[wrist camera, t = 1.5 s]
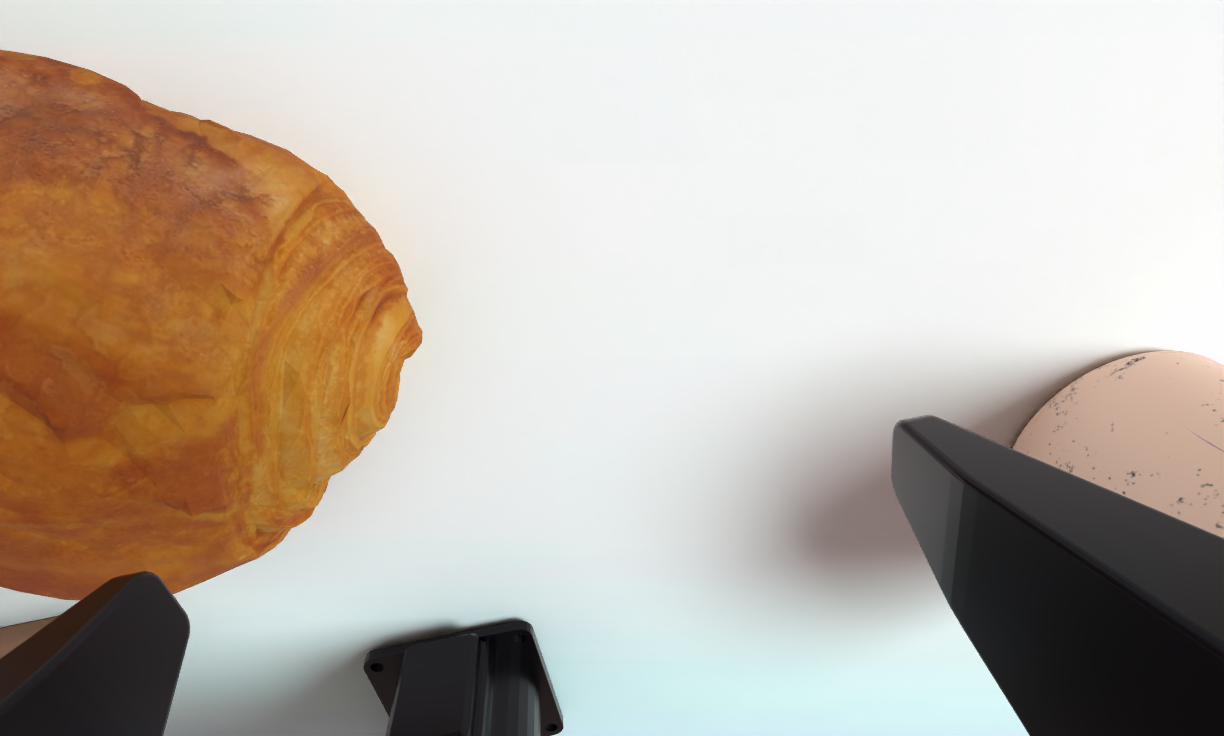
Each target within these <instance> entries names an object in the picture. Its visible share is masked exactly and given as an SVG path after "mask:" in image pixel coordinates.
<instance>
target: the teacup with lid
mask: <svg viewBox="0 0 1224 736" xmlns="http://www.w3.org/2000/svg"><path fill="white" fill-rule="evenodd" d="M1012 449H1014V450H1016V451H1019V452H1021V453H1024V454H1026V455H1028V456H1031V457H1033V458H1035V459H1038V460H1040V461H1042V462H1045V463H1047V464H1050V465H1052V466H1054V467H1057V468H1059V469H1061V470H1064V471H1066V472H1069V473H1071V474H1073V475H1076V476H1078V477H1080V478H1083V479H1085V480H1088V481H1090V482H1092V483H1095V484H1097V485H1099V486H1102V487H1104V488H1106V489H1109V490H1111V491H1114V492H1116V493H1118V494H1121V495H1123V496H1125V497H1128V498H1130V499H1133V500H1135V501H1137V502H1140V503H1142V504H1144V505H1147V506H1149V507H1151V508H1154V509H1156V510H1159V511H1161V512H1163V513H1166V514H1168V515H1170V516H1173V517H1175V518H1178V519H1180V520H1182V521H1185V522H1187V523H1189V524H1192V525H1194V526H1197V527H1199V528H1201V529H1204V530H1206V531H1208V532H1211V533H1213V534H1215V535H1218V536H1220V537H1223V538H1224V365H1222V364H1220V363H1218V362H1216V361H1214V360H1211V359H1209V358H1206V357H1204V356H1201V355H1197V354H1193V353H1188V352H1181V351H1154V352H1147V353H1141V354H1137V355H1132V356H1128V357H1125V358H1122V359H1118V360H1115V361H1113V362H1110V363H1108V364H1105V365H1103V366H1101V367H1099V368H1096V369H1094V370H1092V371H1090V372H1089V373H1087V374H1085V375H1083V376H1081V377H1080V378H1078V379H1077V380H1075V381H1074V382H1072V383H1070V384H1069V385H1068V386H1066V387H1065V388H1064V389H1062V390H1061V391H1060V392H1058V393H1057V394H1056V395H1055V396H1054V397H1052V398H1051V399H1050V400H1049V401H1048V402H1047V403H1046V404H1045V405H1044V406H1043V407H1042V408H1041V409H1040V410H1039V411H1038V412H1037V413H1036V414H1035V415H1034V416H1033V418H1032V419H1031V420H1030V421H1029V423H1028V424H1027V425H1026V426H1025V428H1024V429H1023V431H1022V432H1021V434H1020V435H1019V437H1018V439H1017V441H1016V442H1015V444H1014V446H1013V448H1012Z"/></svg>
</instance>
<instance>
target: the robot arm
mask: <svg viewBox="0 0 1224 736" xmlns="http://www.w3.org/2000/svg"><path fill="white" fill-rule="evenodd" d="M891 478H892V484H893V488H894V491H895V494H896V496H897V498H898V500H899V502H900V504H901V507H902V509H903V511H904V513H905V515H906V517H907V519H908V521H909V523H910V525H911V527H912V529H913V532H914V534H915V536H916V538H917V540H918V542H919V544H920V546H921V548H922V550H923V552H924V555H925V557H926V559H927V561H928V563H929V565H930V567H931V569H932V571H933V573H934V575H935V577H936V580H937V582H938V584H939V586H940V588H941V590H942V592H943V594H944V596H945V598H946V600H947V602H948V604H949V606H950V607H951V609H952V611H953V612H954V614H955V616H956V618H957V619H958V621H959V623H960V624H961V626H962V628H963V629H964V631H965V633H966V634H967V636H968V637H969V639H970V641H971V642H972V644H973V645H974V647H975V649H976V650H977V652H978V653H979V655H980V657H981V658H982V660H983V661H984V663H985V665H986V666H987V668H988V669H989V671H990V673H991V674H992V676H993V677H994V679H995V681H996V682H997V684H998V685H999V687H1000V689H1001V690H1002V692H1003V693H1004V695H1005V697H1006V698H1007V700H1008V701H1009V703H1010V705H1011V706H1012V708H1013V709H1014V711H1015V713H1016V714H1017V716H1018V717H1019V719H1020V721H1021V722H1022V724H1023V726H1024V727H1025V729H1026V730H1027V732H1028V734H1029V735H1030V736H1224V538H1223V537H1220V536H1218V535H1215V534H1213V533H1211V532H1208V531H1206V530H1204V529H1201V528H1199V527H1197V526H1194V525H1192V524H1189V523H1187V522H1185V521H1182V520H1180V519H1178V518H1175V517H1173V516H1170V515H1168V514H1166V513H1163V512H1161V511H1159V510H1156V509H1154V508H1151V507H1149V506H1147V505H1144V504H1142V503H1140V502H1137V501H1135V500H1133V499H1130V498H1128V497H1125V496H1123V495H1121V494H1118V493H1116V492H1114V491H1111V490H1109V489H1106V488H1104V487H1102V486H1099V485H1097V484H1095V483H1092V482H1090V481H1088V480H1085V479H1083V478H1080V477H1078V476H1076V475H1073V474H1071V473H1069V472H1066V471H1064V470H1061V469H1059V468H1057V467H1054V466H1052V465H1050V464H1047V463H1045V462H1042V461H1040V460H1038V459H1035V458H1033V457H1031V456H1028V455H1026V454H1024V453H1021V452H1019V451H1016V450H1014V449H1012V448H1009V447H1007V446H1005V445H1002V444H1000V443H997V442H995V441H993V440H990V439H988V438H986V437H983V436H981V435H979V434H976V433H974V432H971V431H969V430H967V429H964V428H962V427H960V426H957V425H955V424H952V423H950V422H948V421H945V420H943V419H941V418H938V417H935V416H932V415H925V416H920V417H915V418H910V419H905V420H901V421H899V422H898V423H896V424H895V427H894V430H893V442H892V469H891ZM189 634H190V623H189V619H188V616H187V614H186V612H185V611H184V609H183V608H182V607H181V605H180V604H179V603H178V601H177V600H176V599H175V597H174V596H173V595H172V593H171V592H170V590H169V589H168V588H167V586H166V585H165V584H164V582H163V581H162V580H161V578H160V577H159V576H158V575H156V574H154V573H152V572H148V571H142V572H137V573H132V574H127V575H122V576H118V577H115V578H112V579H110V580H109V581H107V582H106V583H104V584H103V585H101V586H100V587H99V588H97V589H96V590H94V591H93V592H92V593H90V594H89V595H88V596H86V597H85V598H83V599H82V600H81V601H79V602H78V603H77V604H75V605H74V606H72V607H71V608H70V609H68V610H67V611H65V612H64V613H63V614H61V615H60V616H59V617H57V618H56V619H54V620H53V621H52V622H50V623H49V624H48V625H46V626H45V627H43V628H42V629H41V630H39V631H38V632H37V633H35V634H34V635H32V636H31V637H30V638H28V639H27V640H25V641H24V642H23V643H21V644H20V645H19V646H17V647H16V648H14V649H13V650H12V651H10V652H9V653H8V654H6V655H5V656H3V657H2V658H1V659H0V736H163V734H164V730H165V726H166V722H167V719H168V715H169V711H170V707H171V703H172V700H173V696H174V692H175V688H176V685H177V681H178V677H179V673H180V669H181V666H182V662H183V658H184V654H185V650H186V647H187V643H188V639H189ZM517 634H522V635H517ZM364 671H365V672H366V674H367V676H368V678H369V680H370V682H371V684H372V685H373V687H374V689H375V691H376V693H377V695H378V697H379V698H380V700H381V702H382V704H383V706H384V708H385V710H386V712H387V713H388V715H389V717H390V718H389V723H388V728H387V732H386V736H551V735H555V734H558V733H560V732H561V731H562V729H563V715H562V712H561V709H560V706H559V703H558V701H557V698H556V695H555V692H554V689H553V686H552V683H551V680H550V677H549V674H548V671H547V668H546V665H545V662H544V659H543V656H542V653H541V650H540V648H539V645H538V642H537V639H536V636H535V633H534V630H533V627H532V626H531V624H529V623H528V622H525V621H515V622H510V623H505V624H500V625H495V626H490V627H486V628H481V629H476V630H471V631H466V632H461V633H456V634H451V635H446V636H441V637H436V638H431V639H426V640H421V641H416V642H411V643H407V644H402V645H397V646H392V647H387V648H382V649H377V650H373V651H371V652H369V653H368V654H367V656H366V659H365V663H364Z"/></svg>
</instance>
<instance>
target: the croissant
mask: <svg viewBox="0 0 1224 736" xmlns="http://www.w3.org/2000/svg"><path fill="white" fill-rule="evenodd" d="M407 291H408V289H407V287H406V285H405V283H404V279H403V276H402V273H401V270H400V267H399V265H398V263H397V261H396V260H395V258H394V256H393V255H392V254H391V253H390V252H389V251H388V250H387V249H385V247H384V245H383V243H382V240H381V238H380V236H379V235H378V233H377V231H376V230H375V229H374V228H373V227H372V226H371V225H370V224H369V223H368V222H367V221H366V220H365V218H364V217H363V215H362V214H361V213H360V212H359V211H358V210H357V209H356V208H355V207H354V205H353V204H352V203H351V201H350V200H349V198H348V197H347V195H346V194H345V192H344V191H343V190H342V189H340V188H339V187H338V186H336V185H335V183H334V182H333V181H332V180H331V179H330V178H329V177H328V176H327V175H325V174H323V173H321V172H320V171H318V170H316V169H314V168H313V167H311V166H310V165H308V164H307V163H305V162H304V161H302V160H301V159H300V158H298V157H297V156H295V155H294V154H292V153H291V152H289V151H288V150H286V149H283V148H281V147H278V146H276V145H273V144H271V143H268V142H266V141H263V140H261V139H258V138H256V137H253V136H251V135H248V134H244V133H240V132H236V131H233V130H231V129H229V128H227V127H225V126H222V125H220V124H218V123H215V122H213V121H211V120H199V119H197V118H195V117H193V116H190V115H187V114H184V113H181V112H173V111H169V110H166V109H164V108H161V107H159V106H156V105H154V104H151V103H149V102H147V101H144V100H141V99H140V98H139V96H138V95H137V94H136V93H134V92H133V91H132V90H130V89H129V88H128V87H126V86H125V85H123V84H121V83H118V82H116V81H114V80H111V79H109V78H107V77H105V76H102V75H100V74H98V73H96V72H93V71H91V70H88V69H84V68H81V67H77V66H74V65H71V64H67V63H64V62H60V61H57V60H53V59H50V58H46V57H41V56H35V55H30V54H24V53H18V52H12V51H4V50H0V586H1V587H4V588H8V589H12V590H15V591H20V592H25V593H31V594H36V595H42V596H48V597H53V598H59V599H64V600H82V599H83V598H85V597H86V596H88V595H89V594H90V593H92V592H93V591H94V590H96V589H97V588H99V587H100V586H101V585H103V584H104V583H106V582H107V581H109V580H110V579H112V578H115V577H118V576H122V575H127V574H132V573H137V572H142V571H148V572H152V573H154V574H156V575H158V576H159V577H160V578H161V580H162V581H163V582H164V584H165V585H166V586H167V588H168V589H169V590H170V592H171V593H172V594H175V593H177V592H180V591H182V590H185V589H187V588H189V587H192V586H194V585H197V584H199V583H201V582H204V581H206V580H208V579H211V578H213V577H215V576H217V575H220V574H222V573H224V572H226V571H229V570H231V569H233V568H235V567H238V566H240V565H243V564H245V563H247V562H250V561H252V560H255V559H257V558H259V557H260V556H262V555H264V554H265V553H267V552H268V551H270V550H271V549H273V548H274V547H276V546H277V545H278V544H279V543H280V542H281V541H282V540H283V539H284V537H285V536H286V535H287V533H288V532H289V531H290V529H291V528H292V527H296V526H297V525H299V524H301V523H303V522H304V521H305V520H307V519H308V518H309V517H311V515H312V513H313V511H314V509H315V507H316V506H317V505H318V504H319V502H320V500H321V499H322V496H323V493H324V492H325V491H326V488H327V485H328V481H329V479H330V477H331V476H332V475H334V474H336V473H338V472H340V471H342V470H343V469H344V468H345V467H346V466H347V465H348V464H349V463H350V462H351V461H352V460H354V459H355V458H356V457H358V456H359V455H360V453H361V451H362V450H363V448H364V447H365V446H367V445H368V444H369V442H370V441H371V439H372V438H373V437H374V435H375V434H376V432H377V431H379V430H380V429H382V428H384V427H385V425H386V423H387V422H388V420H389V418H390V414H391V412H392V411H393V409H394V408H395V404H396V401H397V397H398V390H399V382H400V371H401V368H402V366H403V363H404V360H405V359H407V358H409V357H411V356H412V355H413V353H414V352H415V351H416V349H417V348H418V347H419V345H420V344H421V343H422V330H421V329H420V327H419V325H418V323H417V320H416V317H415V314H414V311H413V309H412V307H411V305H410V303H409V301H408V299H407V297H406V295H407Z"/></svg>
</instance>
